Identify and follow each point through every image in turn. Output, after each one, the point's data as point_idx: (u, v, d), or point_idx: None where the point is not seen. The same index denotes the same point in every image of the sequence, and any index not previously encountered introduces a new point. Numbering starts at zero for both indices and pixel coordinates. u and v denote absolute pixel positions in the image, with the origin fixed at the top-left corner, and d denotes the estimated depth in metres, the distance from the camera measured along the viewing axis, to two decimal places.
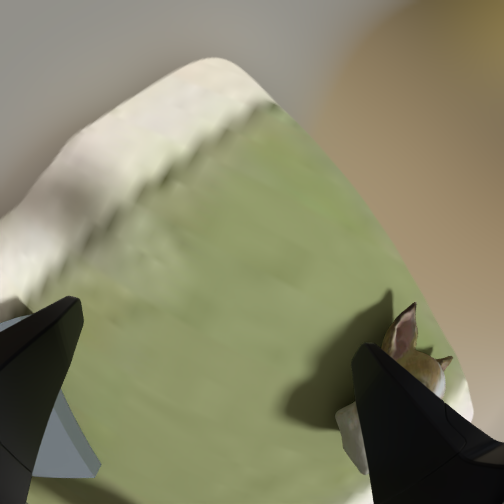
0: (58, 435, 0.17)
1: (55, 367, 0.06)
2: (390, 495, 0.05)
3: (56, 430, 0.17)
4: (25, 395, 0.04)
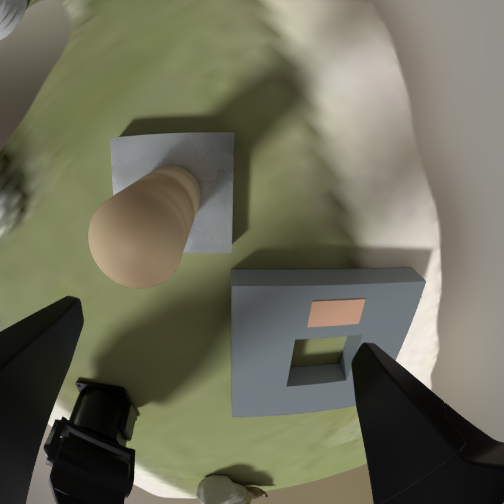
0: (282, 409, 0.26)
1: (55, 367, 0.06)
2: (390, 495, 0.05)
3: (287, 409, 0.26)
4: (25, 395, 0.04)
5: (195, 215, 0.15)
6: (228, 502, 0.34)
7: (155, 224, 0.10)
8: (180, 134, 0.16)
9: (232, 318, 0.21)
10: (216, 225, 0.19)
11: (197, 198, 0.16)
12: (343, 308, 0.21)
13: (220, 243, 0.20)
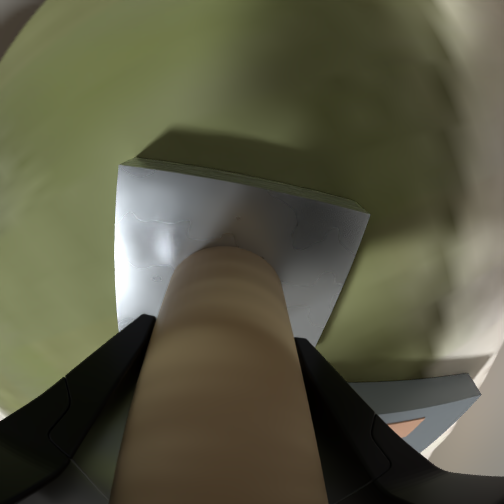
0: None
1: None
2: None
3: None
4: (116, 428, 0.05)
5: None
6: None
7: None
8: (271, 193, 0.08)
9: None
10: None
11: None
12: (400, 428, 0.14)
13: None
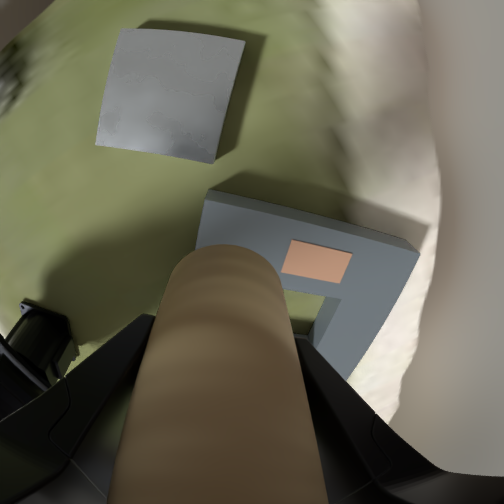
0: None
1: None
2: None
3: None
4: (116, 428, 0.05)
5: None
6: None
7: None
8: (190, 33, 0.13)
9: (197, 241, 0.18)
10: (203, 129, 0.16)
11: None
12: (325, 258, 0.19)
13: (203, 150, 0.17)
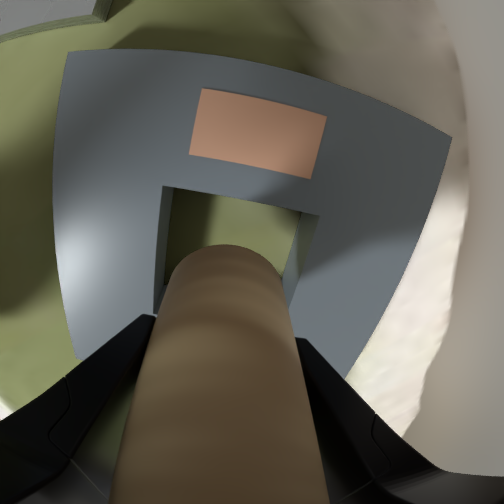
0: None
1: None
2: None
3: None
4: (116, 428, 0.05)
5: None
6: None
7: None
8: None
9: (58, 118, 0.09)
10: None
11: None
12: (273, 122, 0.09)
13: (81, 2, 0.07)
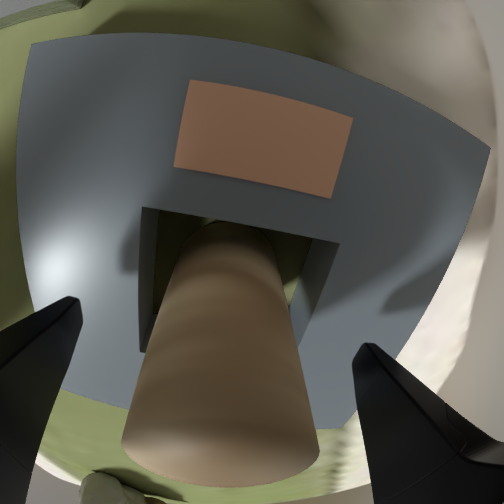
0: None
1: (54, 367, 0.06)
2: (391, 494, 0.05)
3: None
4: (24, 395, 0.04)
5: None
6: None
7: (278, 452, 0.04)
8: None
9: (20, 124, 0.06)
10: None
11: None
12: (283, 124, 0.07)
13: None
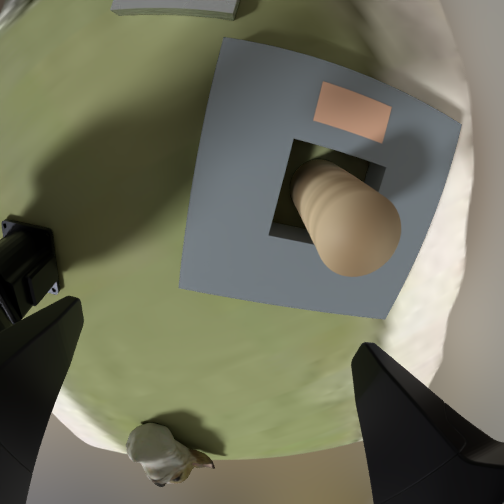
0: (255, 287, 0.19)
1: (55, 367, 0.06)
2: (390, 495, 0.05)
3: (262, 289, 0.19)
4: (25, 395, 0.04)
5: None
6: (162, 462, 0.28)
7: (386, 225, 0.12)
8: None
9: (213, 82, 0.14)
10: None
11: None
12: (362, 107, 0.14)
13: (222, 2, 0.12)
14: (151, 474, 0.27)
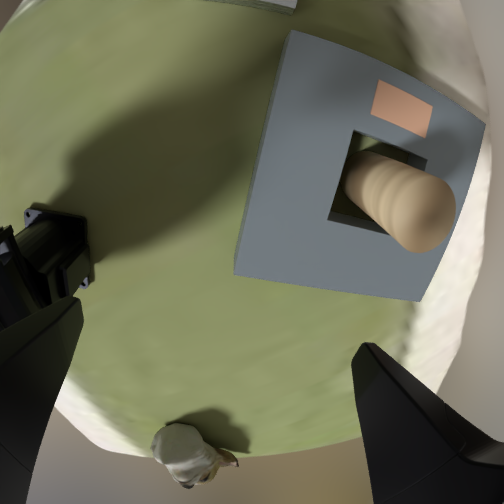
0: (310, 271, 0.20)
1: (55, 367, 0.06)
2: (390, 494, 0.05)
3: (316, 274, 0.20)
4: (25, 395, 0.04)
5: None
6: (191, 462, 0.28)
7: (445, 206, 0.12)
8: None
9: (282, 70, 0.14)
10: None
11: None
12: (410, 105, 0.15)
13: None
14: (179, 476, 0.27)
